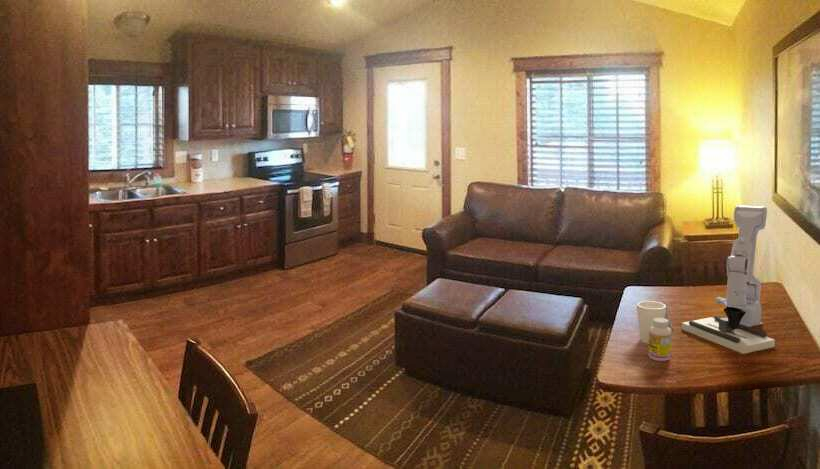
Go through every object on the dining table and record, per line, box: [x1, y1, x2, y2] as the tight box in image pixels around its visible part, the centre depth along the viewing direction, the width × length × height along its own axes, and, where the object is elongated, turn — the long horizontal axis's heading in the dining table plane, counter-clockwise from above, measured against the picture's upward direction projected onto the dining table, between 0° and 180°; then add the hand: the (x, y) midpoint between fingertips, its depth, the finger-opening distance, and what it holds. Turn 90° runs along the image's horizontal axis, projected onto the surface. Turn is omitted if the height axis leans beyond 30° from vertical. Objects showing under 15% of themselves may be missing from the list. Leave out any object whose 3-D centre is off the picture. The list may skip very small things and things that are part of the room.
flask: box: [660, 301, 674, 332], centre depth 217 cm, size 7×7×10 cm
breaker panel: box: [681, 316, 776, 355], centre depth 208 cm, size 14×26×3 cm, turn 20°
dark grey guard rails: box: [688, 315, 768, 343], centre depth 207 cm, size 14×20×2 cm
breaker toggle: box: [718, 316, 734, 332], centre depth 207 cm, size 4×3×4 cm
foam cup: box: [636, 300, 666, 345], centre depth 207 cm, size 10×9×13 cm
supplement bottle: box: [648, 318, 673, 362], centre depth 192 cm, size 7×7×13 cm
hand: (733, 328), depth 204 cm, fingers closed
